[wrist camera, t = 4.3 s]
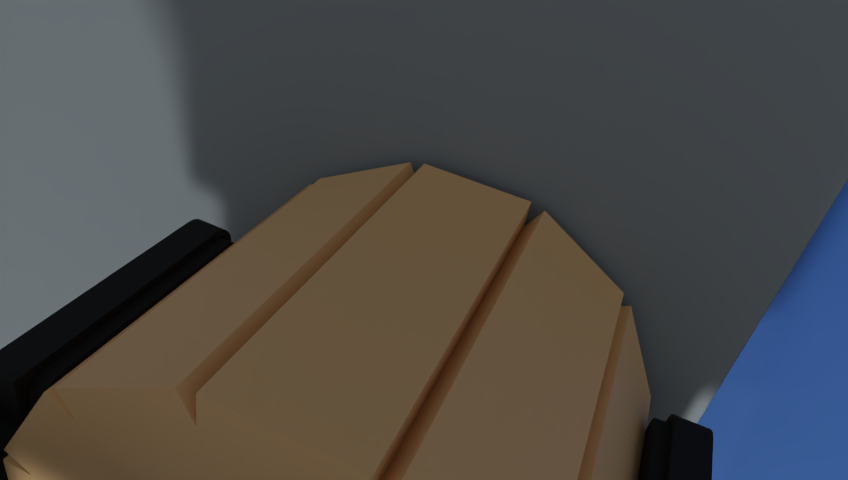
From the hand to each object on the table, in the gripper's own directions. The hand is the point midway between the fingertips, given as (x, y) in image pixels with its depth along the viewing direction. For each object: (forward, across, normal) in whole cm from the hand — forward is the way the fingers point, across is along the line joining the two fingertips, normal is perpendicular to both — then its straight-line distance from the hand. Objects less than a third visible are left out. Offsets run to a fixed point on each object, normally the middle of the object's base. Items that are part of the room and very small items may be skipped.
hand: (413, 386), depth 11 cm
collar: (+1, 0, 0) cm, 1 cm away
